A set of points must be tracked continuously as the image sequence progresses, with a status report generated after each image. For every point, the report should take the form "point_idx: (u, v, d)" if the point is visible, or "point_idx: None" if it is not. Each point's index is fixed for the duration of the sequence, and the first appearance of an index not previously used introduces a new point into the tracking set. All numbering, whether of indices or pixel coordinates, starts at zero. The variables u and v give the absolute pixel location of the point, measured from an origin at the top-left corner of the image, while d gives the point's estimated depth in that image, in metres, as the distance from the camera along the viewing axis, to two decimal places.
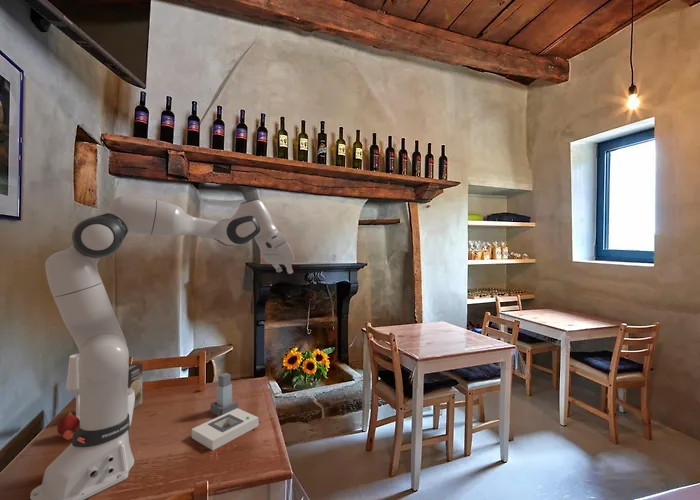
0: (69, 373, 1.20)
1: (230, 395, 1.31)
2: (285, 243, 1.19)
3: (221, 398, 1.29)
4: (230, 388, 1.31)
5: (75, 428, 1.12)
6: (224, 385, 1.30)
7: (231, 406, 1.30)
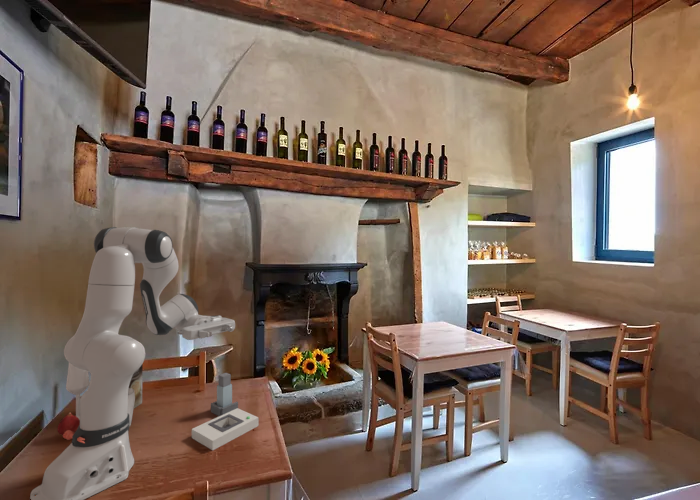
0: (69, 373, 1.20)
1: (230, 395, 1.31)
2: None
3: (221, 398, 1.29)
4: (230, 388, 1.31)
5: (75, 428, 1.12)
6: (224, 385, 1.30)
7: (231, 406, 1.30)
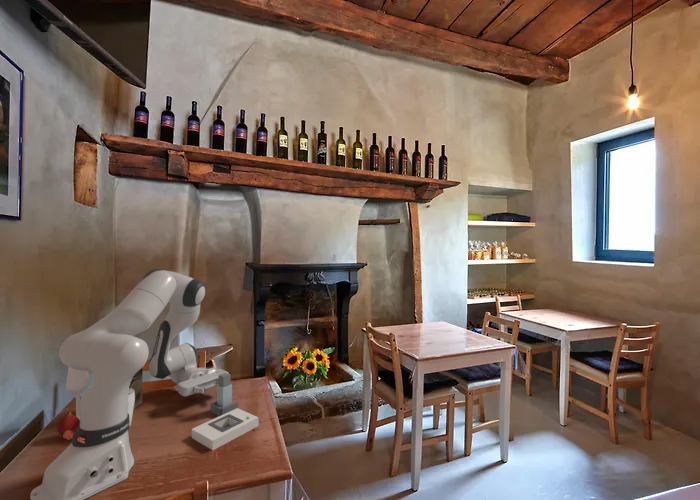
0: (69, 373, 1.20)
1: (230, 395, 1.31)
2: None
3: (221, 398, 1.29)
4: (230, 388, 1.31)
5: (75, 428, 1.12)
6: (224, 385, 1.30)
7: (231, 406, 1.30)
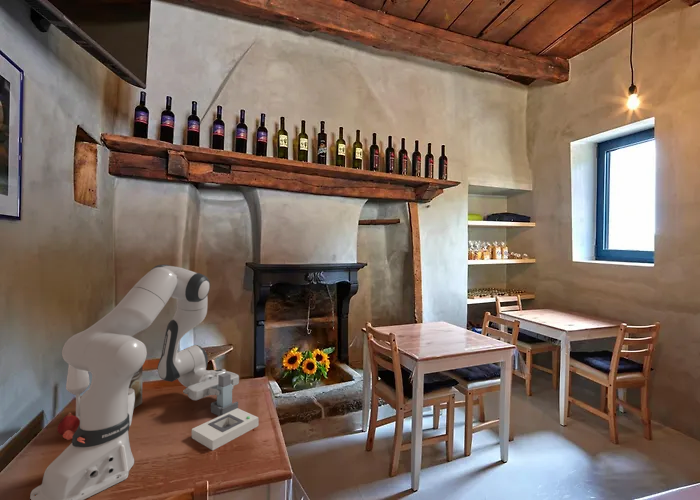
0: (69, 373, 1.20)
1: (230, 395, 1.31)
2: None
3: (221, 398, 1.29)
4: (230, 388, 1.31)
5: (75, 428, 1.12)
6: (224, 385, 1.30)
7: (231, 406, 1.30)
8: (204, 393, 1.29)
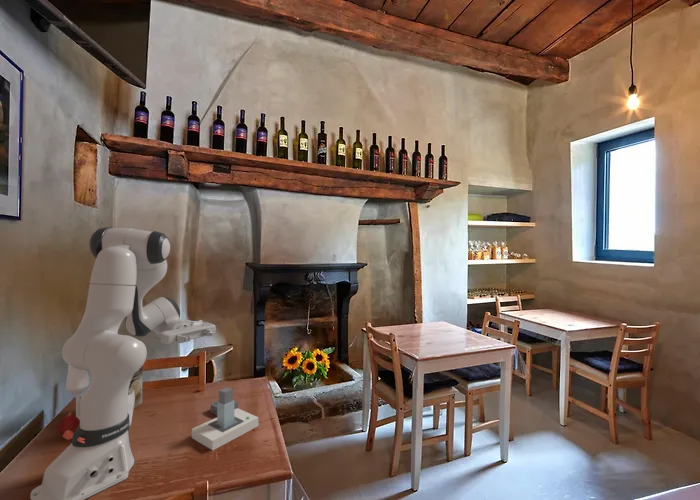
0: (69, 373, 1.20)
1: (232, 413, 1.16)
2: None
3: (223, 417, 1.14)
4: (232, 405, 1.16)
5: (75, 428, 1.12)
6: (225, 402, 1.14)
7: None
8: None
